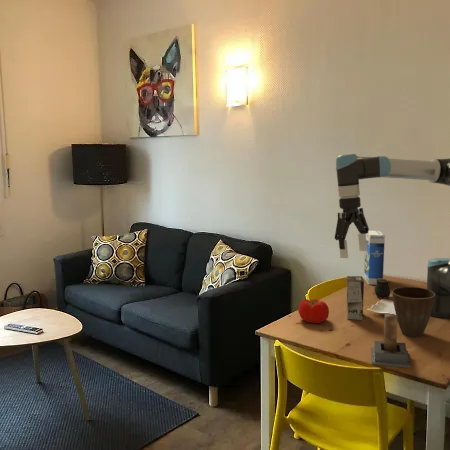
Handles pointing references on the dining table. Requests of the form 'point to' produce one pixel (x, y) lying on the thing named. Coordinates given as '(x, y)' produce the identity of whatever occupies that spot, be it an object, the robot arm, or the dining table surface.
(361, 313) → the coffee box
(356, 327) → the dining table surface
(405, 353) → the grey square socket base
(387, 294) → the mate gourd
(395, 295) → the plant pot
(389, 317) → the brown wooden cylinder
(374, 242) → the string lights box
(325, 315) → the tomato
